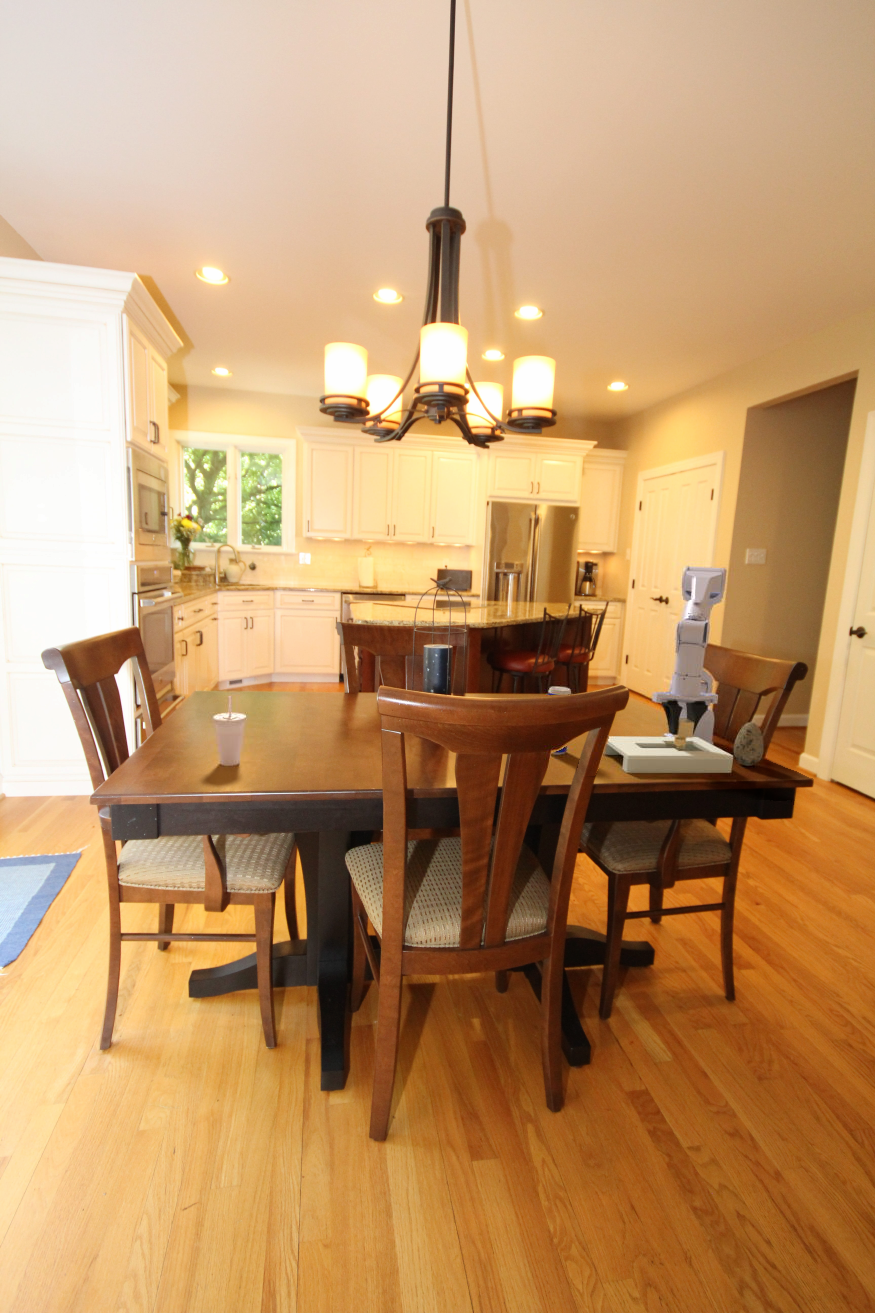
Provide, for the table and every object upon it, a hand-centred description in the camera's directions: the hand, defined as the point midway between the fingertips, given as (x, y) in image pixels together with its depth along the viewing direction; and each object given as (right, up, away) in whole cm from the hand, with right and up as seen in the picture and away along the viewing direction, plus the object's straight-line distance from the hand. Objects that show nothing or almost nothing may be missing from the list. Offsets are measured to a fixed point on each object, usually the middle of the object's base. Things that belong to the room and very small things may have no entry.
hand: (681, 733), depth 136 cm
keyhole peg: (0, -6, +1) cm, 6 cm away
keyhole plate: (-4, -6, +1) cm, 7 cm away
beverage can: (-28, -5, +4) cm, 28 cm away
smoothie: (-97, -4, -13) cm, 98 cm away
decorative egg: (+15, -7, +1) cm, 17 cm away
